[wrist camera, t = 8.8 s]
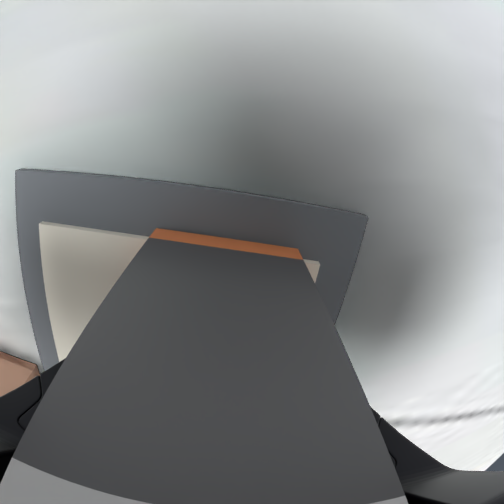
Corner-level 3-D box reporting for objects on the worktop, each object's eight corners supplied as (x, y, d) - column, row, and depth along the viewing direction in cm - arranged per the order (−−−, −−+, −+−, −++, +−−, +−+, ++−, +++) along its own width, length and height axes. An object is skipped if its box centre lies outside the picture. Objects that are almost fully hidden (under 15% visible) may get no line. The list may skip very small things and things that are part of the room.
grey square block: (269, 357, 13) (303, 597, 4) (152, 342, 12) (89, 577, 3) (298, 248, 11) (425, 551, 2) (156, 227, 11) (-13, 515, 1)
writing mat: (269, 470, 18) (269, 478, 17) (72, 438, 17) (69, 445, 16) (364, 214, 12) (371, 219, 11) (20, 168, 10) (11, 171, 9)
